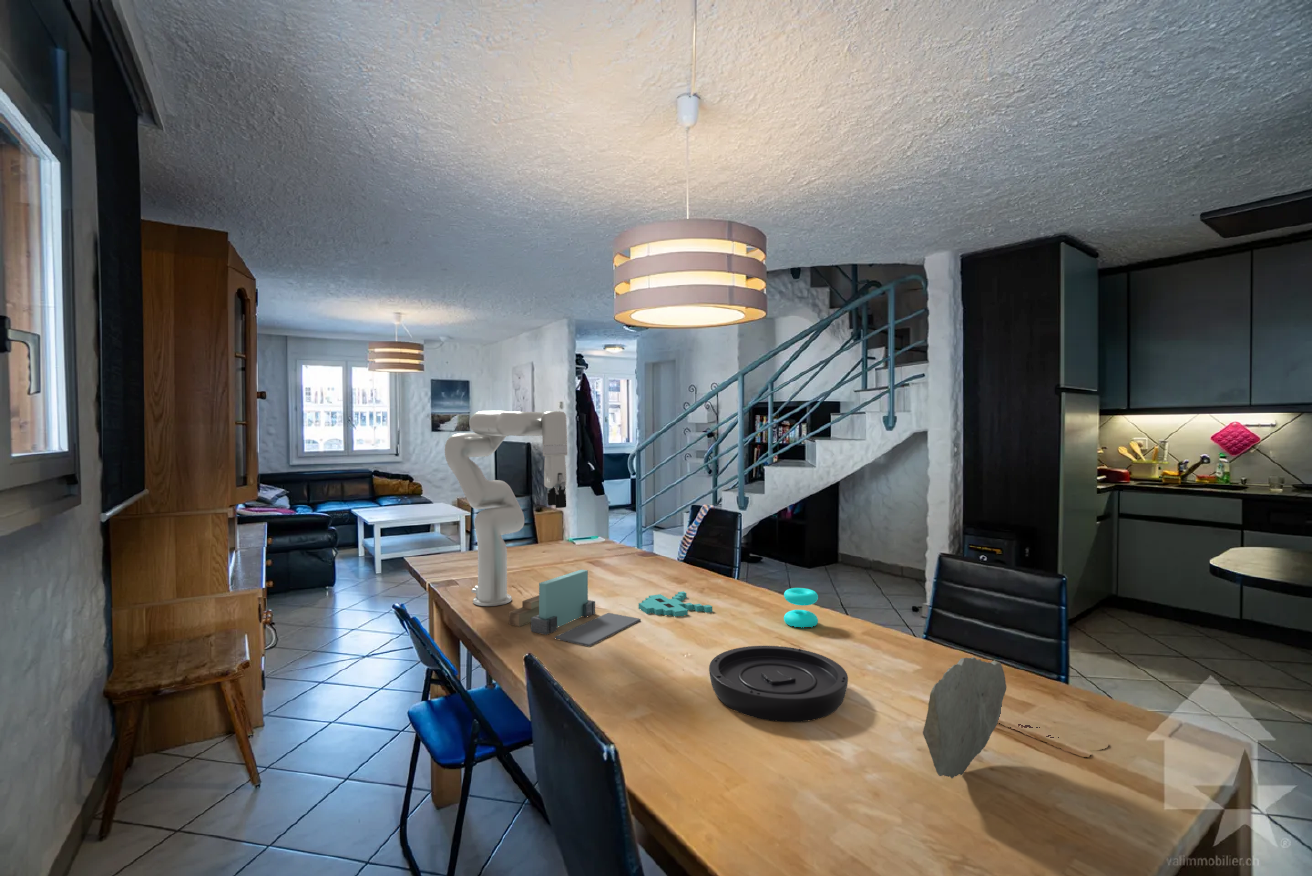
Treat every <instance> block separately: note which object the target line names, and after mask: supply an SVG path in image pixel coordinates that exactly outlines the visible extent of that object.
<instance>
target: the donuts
mask: <svg viewBox="0 0 1312 876" xmlns="http://www.w3.org/2000/svg"><path fill="white" fill-rule="evenodd" d="M783 598H784V599H785V601H786V602H788V603H789V604H792V605H796V606H802V607H803V606H805V607H807V606H811V605H814V604H815V603H816V602H817V601H818V599H819V595H818V593H817V591H815V590H813V589H810V588H804V587H792V588H788V589H786V590H785V591H784V593H783ZM783 621H784V623H785V625H788V626H789V627H792V626H794V627H793V628H796V627H801V628H800V629H805V628H804V627H811V628H814V627H816V626H817V625H818V623H819V617H818V616H817V615H816V614H815V613H814V612H812V611H810V610H805V609H793V610H789V611H787V612H786V613H785V614H784V616H783ZM813 626H814V627H813ZM802 627H803V628H802Z"/></svg>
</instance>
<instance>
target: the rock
mask: <svg viewBox="0 0 1312 876" xmlns="http://www.w3.org/2000/svg"><path fill="white" fill-rule="evenodd" d="M1006 691H1007V683H1006V675H1005V671H1004V668H1003V665H1002V663H1001V662H1000V661H997V660H993V661H991V662H987V661H984V660H981V659H980V658H979V659H977V658H976V657H975V656H973V657H963V658H962V657H961V658H960V659H959V661H958V662H957V663H956V664H953V665H952V666H951V667H949V668H948V669H947V671H945V672H944V673H943V675H942V678H941V679H939V680H938V682H936V683H935V684H934V685H933V687H932V689H931V691H930V694H929V698H928V699H929V700H928V706H927V707H928V708H927V713H926V718H925V723H924V727H923V731H922V736H923V737H924V740H925V742H926V746H927V748H928V750H929V754H930V757H931V760H932V762H933V766H934V768H935V771H936V773H937V776H939V777H942V776H944V777H950V778H951V779H954V778H955V777H958V776H959V775H960V776H963V775H964V773H965V772H966V770H967V769H968V767H969V765H971V762H973V760H974V759H975V758H976V757H977V755H979V754H981V753H982V751H983V750H984V748H985V747H986V746H987V744H988V741H989V740H990V738H991V735H992V734H993V731H995V729H996V727H997V725H998V724H997V723H998V720H999V717H1000V714H1001V707H1002V704H1003V700H1004V698H1005V697H1004V696H1005V695H1006ZM964 771H965V772H964Z"/></svg>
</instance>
